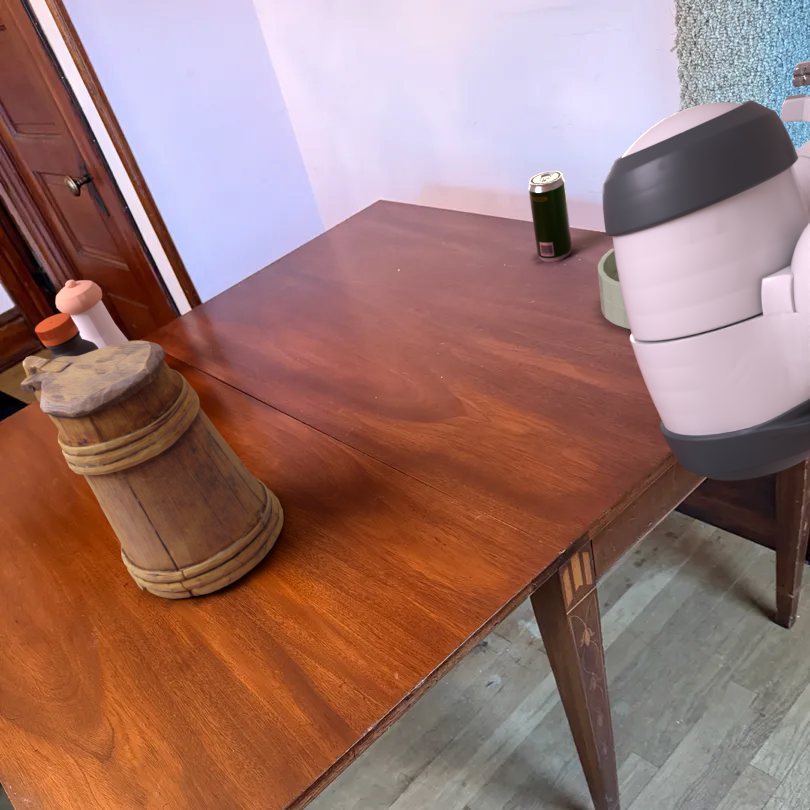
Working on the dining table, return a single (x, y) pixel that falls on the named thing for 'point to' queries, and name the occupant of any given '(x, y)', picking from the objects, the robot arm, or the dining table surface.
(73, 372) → the tankard
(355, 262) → the dining table surface
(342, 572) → the dining table surface
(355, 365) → the dining table surface
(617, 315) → the bowl
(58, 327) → the bottle
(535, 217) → the beer can
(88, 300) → the pepper shaker
